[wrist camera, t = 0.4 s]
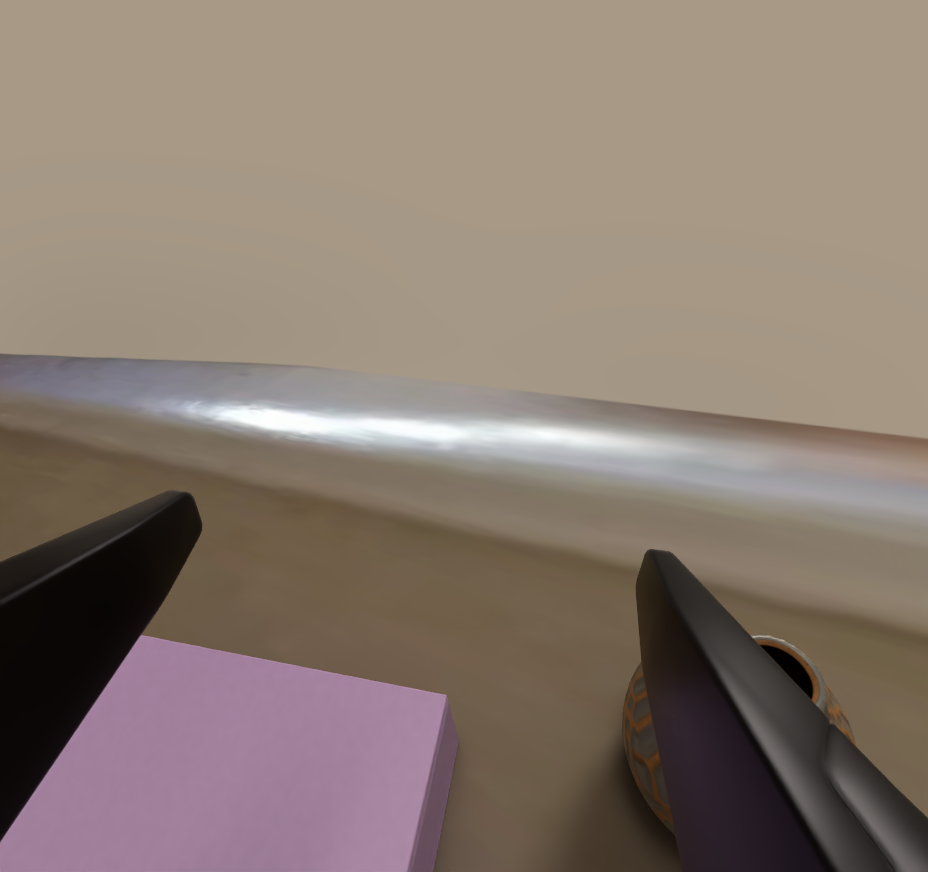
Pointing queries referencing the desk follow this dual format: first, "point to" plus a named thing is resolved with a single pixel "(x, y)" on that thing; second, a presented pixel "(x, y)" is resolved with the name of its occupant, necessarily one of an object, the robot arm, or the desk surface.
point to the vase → (642, 734)
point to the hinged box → (436, 798)
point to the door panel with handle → (234, 771)
